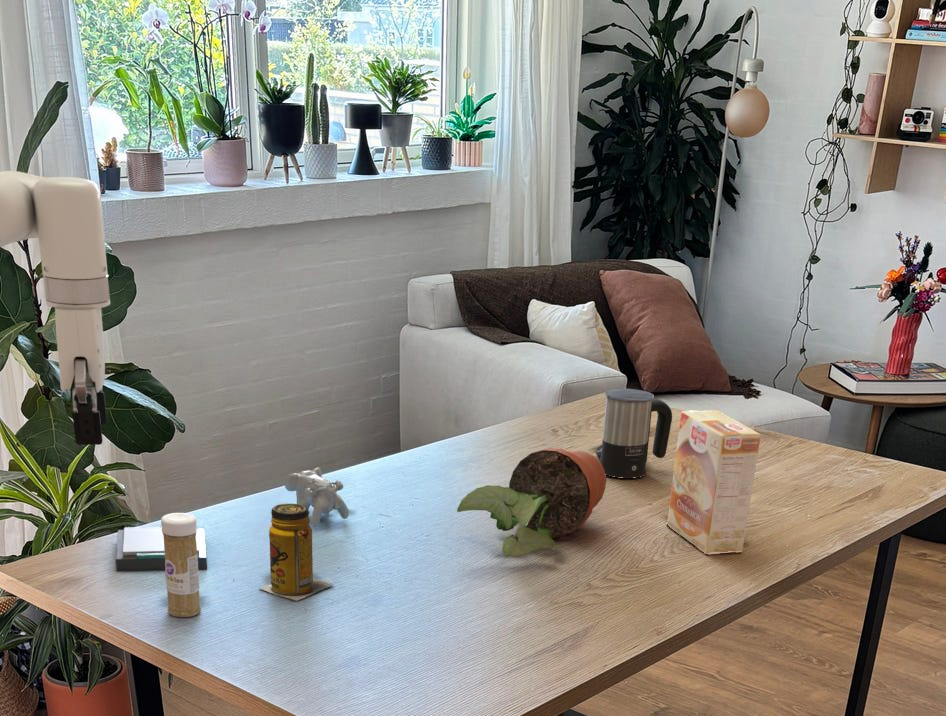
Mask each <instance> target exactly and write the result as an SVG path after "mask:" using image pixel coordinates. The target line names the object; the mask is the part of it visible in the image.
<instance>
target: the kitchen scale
mask: <svg viewBox="0 0 946 716" xmlns="http://www.w3.org/2000/svg"><path fill="white" fill-rule="evenodd" d="M196 547H197V555H198V570H208V561H207V560H208V559H207V548H206V547H207V546H206V537H205V528H197V531H196ZM115 567H116V572H132V571H133V572H134V571H136V572H137V571H138V572H139V571H165V568H166V567H165V550H164V535H163V532H162V528H161V526H127V527H125V526H124V527H123V529H118V530H117V538H116V552H115Z"/></svg>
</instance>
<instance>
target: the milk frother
mask: <svg viewBox="0 0 946 716" xmlns="http://www.w3.org/2000/svg"><path fill="white" fill-rule="evenodd" d="M604 394H605V397H606V398H605V409H604V410H605V411H604V420H603V431H602V441H601V445H599V446H598V447H597V448H596V450H595V454H596V456H597V458H598V459H600V460H599V461H600V462H601V464H602V467H603V469H604V471H605V474H606V475H610V476H615V477H623V478H633V477H640V476H643V475H644V476H646V474H647V471H646V465H647V461H648V454H649V453H648V452H649V444H650V443H649V442H650V432H651V422H652V413H654V412H656V413H657V418H656V425H655V432H654V438H653V444H652V454H653V456H655V457H656V458H658V459H662V458H663V459H664V458H665V456H666V454H667V449H668V443H669V438H670V434H671V433H670V432H671V427H672V422H673V411H672V409H671V407H670V406H669V404H667V403H666V402H664V401H663V400H661V399H658V398H655V395H654V394H653V393H651V392H649V391H646V390H642V389H635V388H614V389H608V390H607V391H605V392H604ZM644 476H643V477H644ZM640 478H641V477H640Z"/></svg>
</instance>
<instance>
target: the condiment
mask: <svg viewBox="0 0 946 716" xmlns="http://www.w3.org/2000/svg"><path fill="white" fill-rule="evenodd" d="M270 513H271V519H270V522H271V525H270V526H269V529H268V537H269V564H270V565H269V568H270V569H269V570H270V583H269V584H266V585H264V586H262V587H258V589H259V590H262V591H264V592H267V593H269V594H272V595H275V596H279V597H281V598H282V597H283V598H286V599H290V600H292V601H296V602H297V601H300V600H302V599H306V598H307V597H310V596H312V595H315V594H316V593H318V592H320V591H323V590H325V589H327V588H329V587H331V586H334V585H335V583H333V582H327V581H324V580H320V579H317V578H314V566H313V563H314V561H313V559H314V558H313V529H312V528H313V527H311V524H310V510H308V509H307V508H306V507H305V506H303V505H299V504H297V503H281V504H277V505H274V506H273V507H272V508H271V512H270Z"/></svg>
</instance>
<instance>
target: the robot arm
mask: <svg viewBox="0 0 946 716" xmlns="http://www.w3.org/2000/svg"><path fill="white" fill-rule="evenodd" d="M102 208H103V207H102V198H101V193H100V189H99V187H98V185H97V184H96V183H95V182H93V181H92V180H90V179H87V178H82V177H74V176H52V177H51V176H50V177H45V176H40V175H35V174H31V173H27V172H23V171H18V170H3V171H0V248H1V247H3V246H8V245H9V244H13V243H17V242H21V241H26V240H28V239H38V245H39V253H40V261H41V262H40V263H41V271H42V279H43V288H44V290H43V291H44V297H45V304H46V306H48V307H52V308H54V316H55V317H54V319H55V336H56V338H55V339H56V349H57V358H58V359H57V360H58V369H59V381H60V383H59V384H60V390H61V391H62V392H63V393H64V394H66V393H68V391H70V390H72V391H71V393H72V411H71V412H72V423H73V430H74V441H75V444H76V445H79V446H80V445H81V446H100V445H103V430H102V425H106V424H107V422H108V419H107V418H108V417H107V407H106V396H105V391H103V386H104V382H105V379H106V378H105V376H106V357H105V356H106V355H105V340H104V339H105V338H104V328H103V327H104V326H103V316H102V315H103V314H102V308H107V307H109V306H110V305H111V295H110V285H109V274H108V273H109V272H108V264H107V263H108V262H107V252H106V251H107V250H106V240H105V229H104V219H103V210H102Z"/></svg>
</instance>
